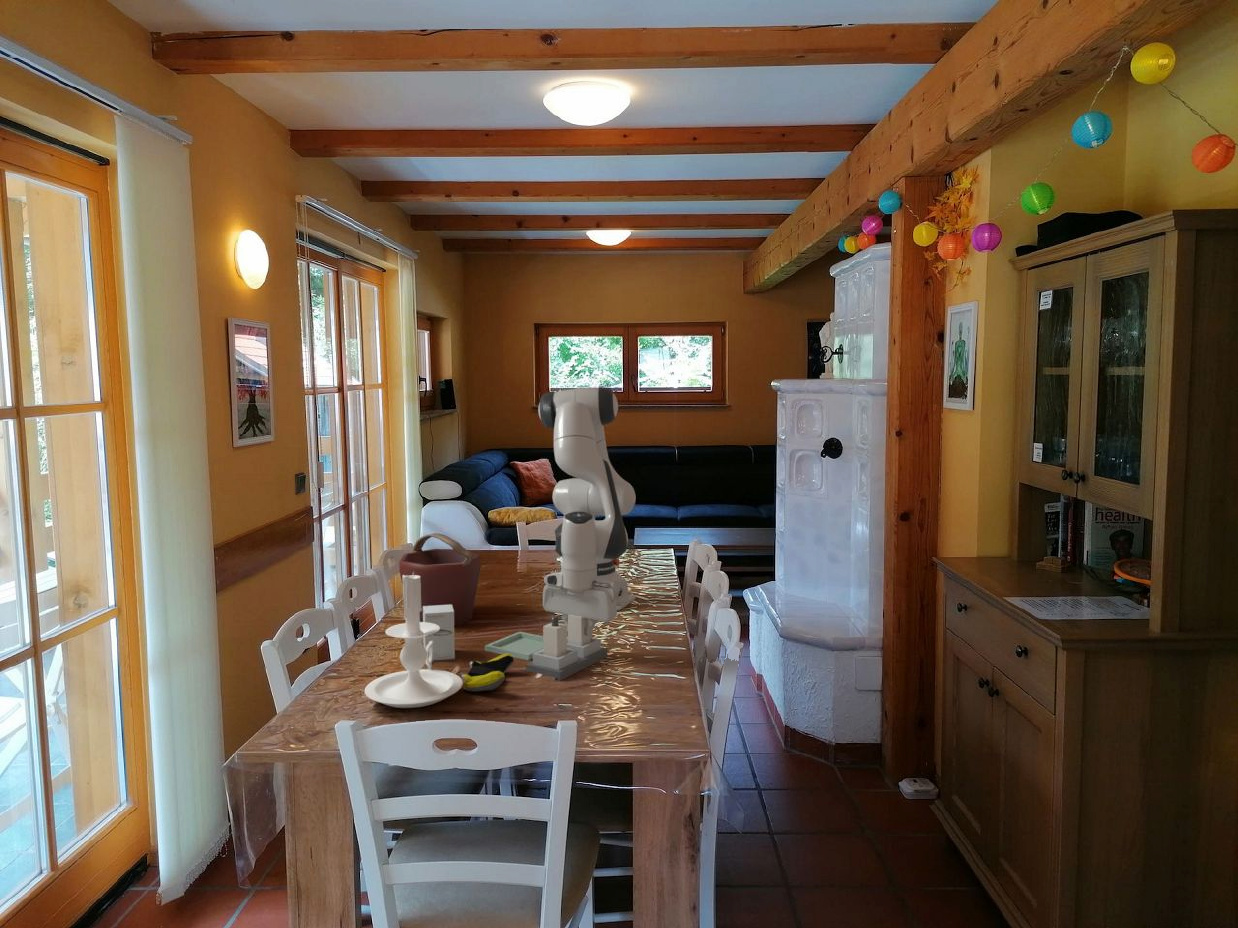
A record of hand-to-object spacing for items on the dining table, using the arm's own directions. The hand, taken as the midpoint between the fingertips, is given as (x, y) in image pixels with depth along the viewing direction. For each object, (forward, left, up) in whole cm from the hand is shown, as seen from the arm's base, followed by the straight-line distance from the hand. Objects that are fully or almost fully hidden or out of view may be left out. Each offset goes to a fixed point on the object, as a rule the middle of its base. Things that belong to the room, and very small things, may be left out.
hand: (579, 633), depth 207 cm
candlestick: (+39, -16, -7) cm, 43 cm away
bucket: (-5, -53, -7) cm, 54 cm away
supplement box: (+18, -30, -7) cm, 36 cm away
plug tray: (+2, -16, -6) cm, 17 cm away
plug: (0, 0, -4) cm, 4 cm away
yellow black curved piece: (+26, -7, -7) cm, 28 cm away
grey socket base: (+5, 0, -6) cm, 8 cm away
